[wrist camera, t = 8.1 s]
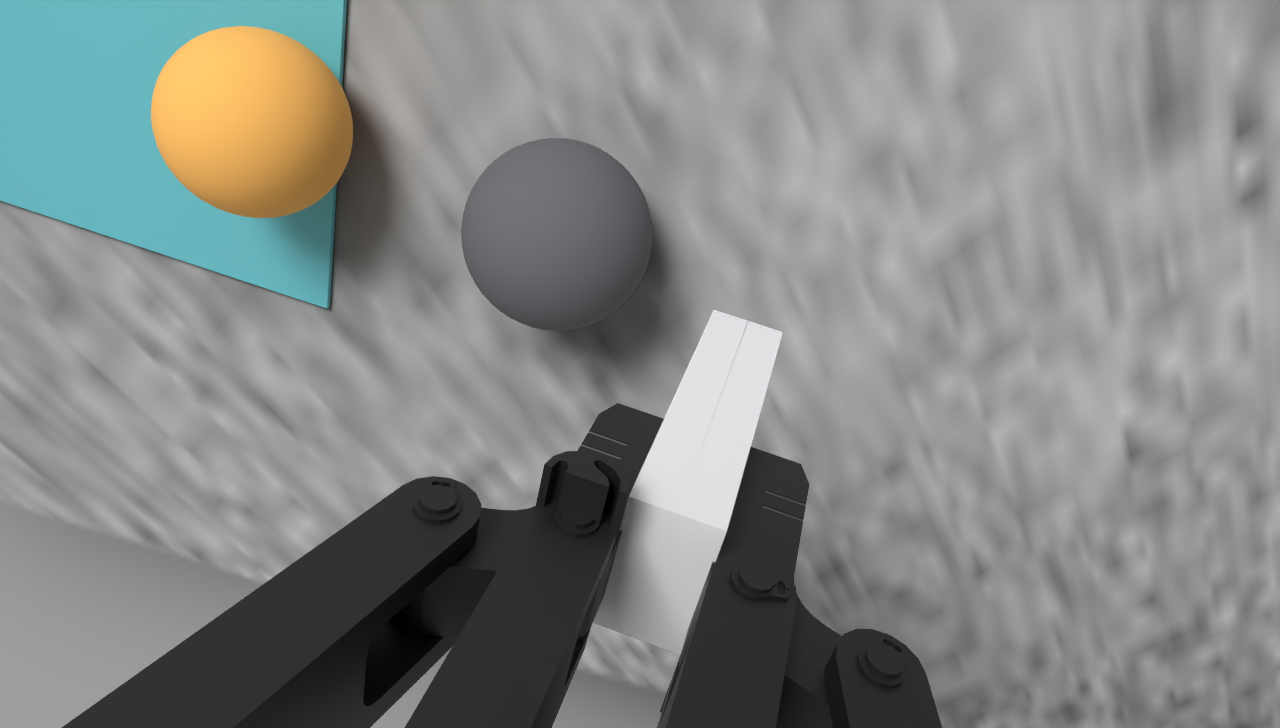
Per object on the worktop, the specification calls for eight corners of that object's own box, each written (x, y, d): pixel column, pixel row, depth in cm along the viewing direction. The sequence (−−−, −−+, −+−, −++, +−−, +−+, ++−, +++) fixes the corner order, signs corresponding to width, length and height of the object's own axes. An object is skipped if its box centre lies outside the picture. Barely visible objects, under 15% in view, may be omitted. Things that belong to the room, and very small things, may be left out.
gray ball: (464, 172, 21) (465, 104, 26) (457, 363, 24) (459, 272, 29) (683, 189, 23) (648, 121, 27) (652, 369, 25) (625, 281, 30)
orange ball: (301, 74, 23) (99, 14, 23) (291, 267, 25) (111, 212, 25) (391, 43, 27) (223, -6, 28) (375, 208, 30) (222, 162, 30)
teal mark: (354, -123, 25) (349, -123, 25) (329, 306, 32) (326, 308, 32) (-75, -242, 27) (-81, -243, 26) (-9, 194, 34) (-13, 196, 33)
